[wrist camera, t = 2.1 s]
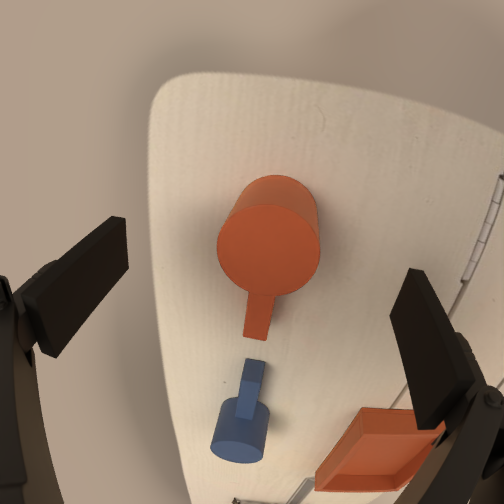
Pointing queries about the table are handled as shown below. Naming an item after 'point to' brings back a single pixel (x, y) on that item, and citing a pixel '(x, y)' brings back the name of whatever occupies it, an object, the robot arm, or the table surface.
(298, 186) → the terracotta scoop
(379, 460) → the tray
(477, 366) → the robot arm
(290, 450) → the table surface
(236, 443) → the blue scoop
